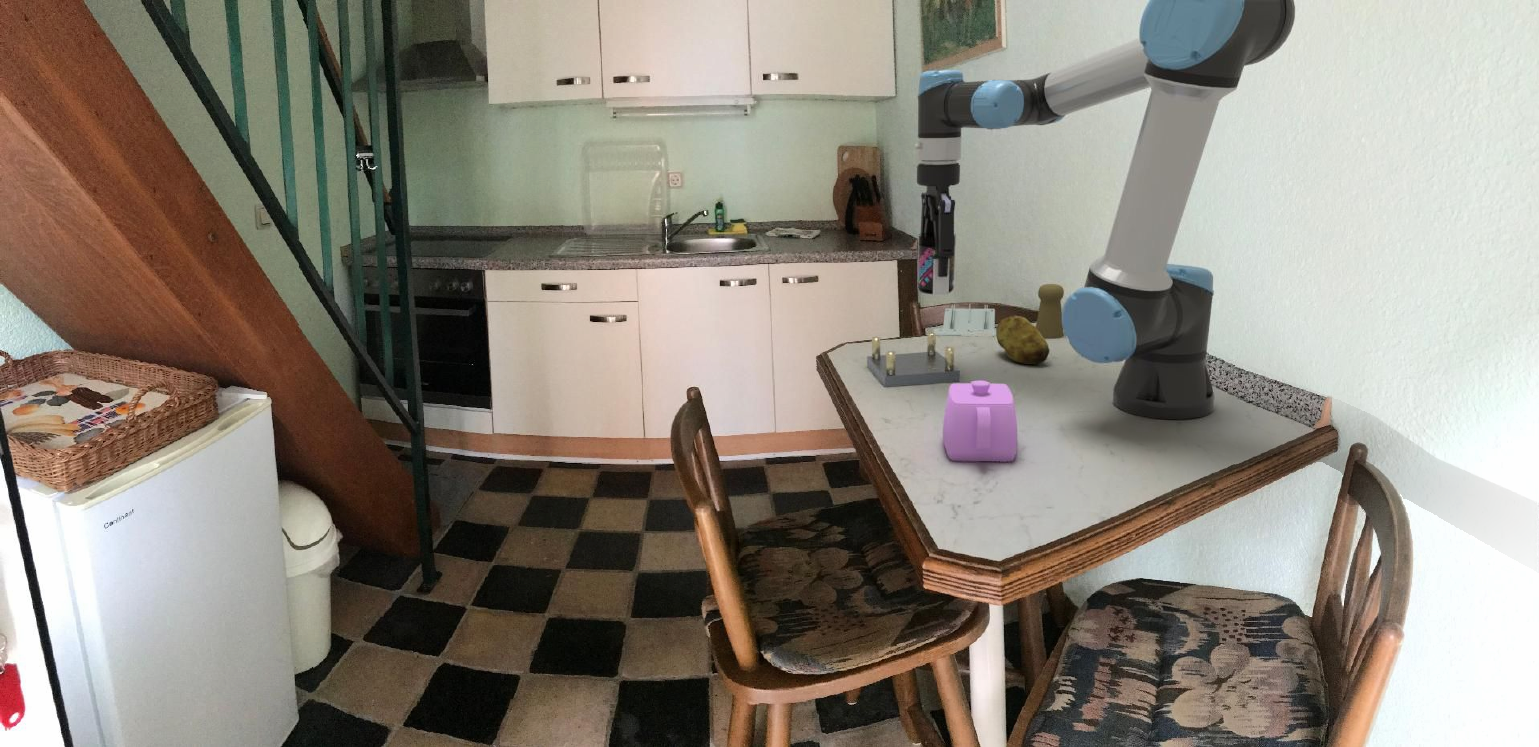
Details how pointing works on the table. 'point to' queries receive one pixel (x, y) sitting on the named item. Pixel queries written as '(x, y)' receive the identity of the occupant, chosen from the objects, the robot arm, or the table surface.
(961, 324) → the metal bracket
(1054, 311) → the tan game pawn
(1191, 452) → the table surface
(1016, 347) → the potato
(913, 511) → the table surface
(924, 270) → the supplement container
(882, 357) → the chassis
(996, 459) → the teapot
